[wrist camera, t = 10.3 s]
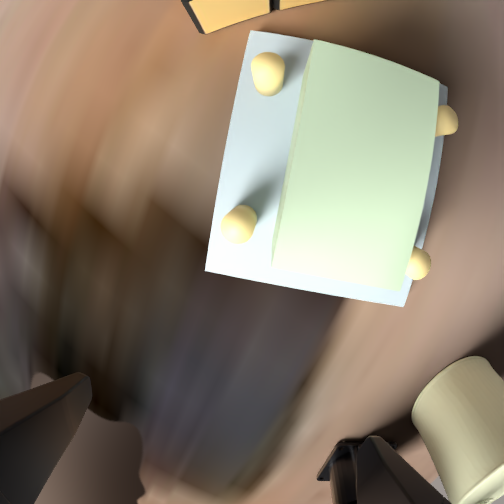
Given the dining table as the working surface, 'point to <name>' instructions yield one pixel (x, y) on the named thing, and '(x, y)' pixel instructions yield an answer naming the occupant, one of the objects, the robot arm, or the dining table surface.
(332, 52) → the pale green block
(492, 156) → the dining table surface
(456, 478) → the can
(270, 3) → the puzzle cube
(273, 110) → the chassis
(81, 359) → the dining table surface
